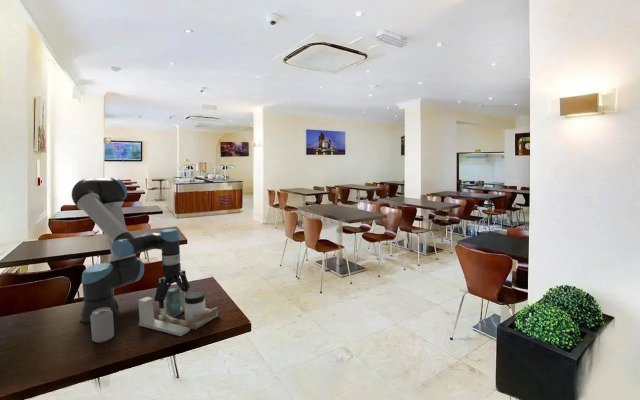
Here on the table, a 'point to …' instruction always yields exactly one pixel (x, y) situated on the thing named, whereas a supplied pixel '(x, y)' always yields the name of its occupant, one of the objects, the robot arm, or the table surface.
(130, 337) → the table surface
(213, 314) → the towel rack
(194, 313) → the jar
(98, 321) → the can
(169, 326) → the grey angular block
